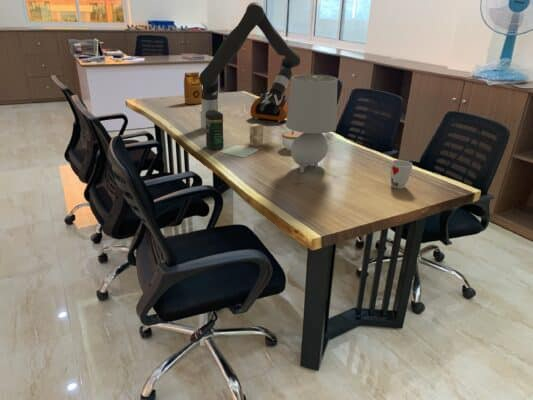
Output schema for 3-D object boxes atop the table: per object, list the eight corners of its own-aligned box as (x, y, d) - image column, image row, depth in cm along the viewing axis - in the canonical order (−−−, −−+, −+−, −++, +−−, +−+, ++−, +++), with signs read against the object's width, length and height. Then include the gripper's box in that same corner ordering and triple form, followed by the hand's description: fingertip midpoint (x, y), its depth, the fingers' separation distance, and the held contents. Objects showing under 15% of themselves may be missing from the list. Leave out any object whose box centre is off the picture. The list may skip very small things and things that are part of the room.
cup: (385, 182, 175) (388, 159, 171) (403, 182, 176) (408, 159, 171) (392, 190, 168) (396, 166, 163) (411, 190, 168) (416, 166, 164)
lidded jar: (285, 152, 207) (286, 134, 203) (278, 146, 216) (279, 128, 212) (305, 151, 209) (306, 133, 206) (298, 145, 219) (299, 127, 215)
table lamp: (318, 181, 174) (326, 83, 157) (273, 170, 184) (277, 77, 167) (339, 166, 191) (349, 76, 175) (298, 156, 202) (303, 71, 185)
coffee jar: (225, 149, 209) (225, 112, 201) (210, 151, 206) (209, 113, 198) (219, 143, 217) (218, 108, 209) (204, 145, 214) (203, 109, 206)
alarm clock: (249, 119, 266) (250, 92, 259) (255, 116, 274) (255, 90, 267) (284, 123, 259) (285, 96, 252) (289, 120, 266) (290, 93, 259)
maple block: (249, 144, 218) (249, 125, 213) (254, 142, 221) (255, 123, 217) (257, 146, 215) (258, 127, 211) (262, 143, 219) (263, 125, 215)
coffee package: (204, 104, 302) (203, 72, 293) (188, 105, 296) (186, 73, 287) (199, 101, 310) (198, 70, 300) (183, 102, 304) (181, 71, 295)
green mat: (220, 152, 204) (220, 151, 204) (236, 145, 215) (236, 144, 215) (243, 157, 198) (243, 157, 198) (259, 150, 209) (259, 149, 209)
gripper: (265, 80, 224) (253, 105, 221) (288, 83, 217) (276, 109, 214) (270, 88, 231) (259, 113, 227) (293, 92, 224) (281, 117, 220)
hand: (267, 111), depth 220 cm, fingers open, 8 cm apart
